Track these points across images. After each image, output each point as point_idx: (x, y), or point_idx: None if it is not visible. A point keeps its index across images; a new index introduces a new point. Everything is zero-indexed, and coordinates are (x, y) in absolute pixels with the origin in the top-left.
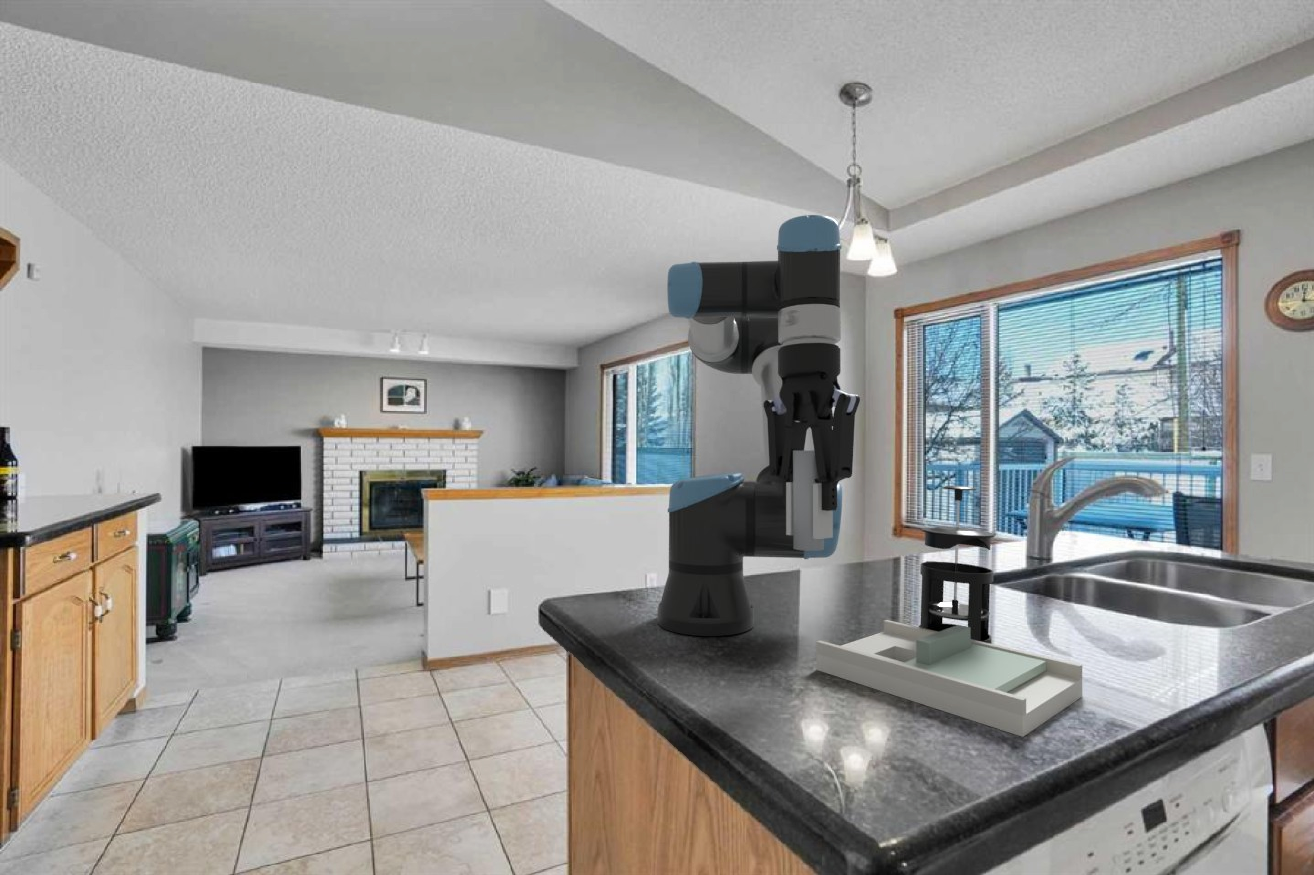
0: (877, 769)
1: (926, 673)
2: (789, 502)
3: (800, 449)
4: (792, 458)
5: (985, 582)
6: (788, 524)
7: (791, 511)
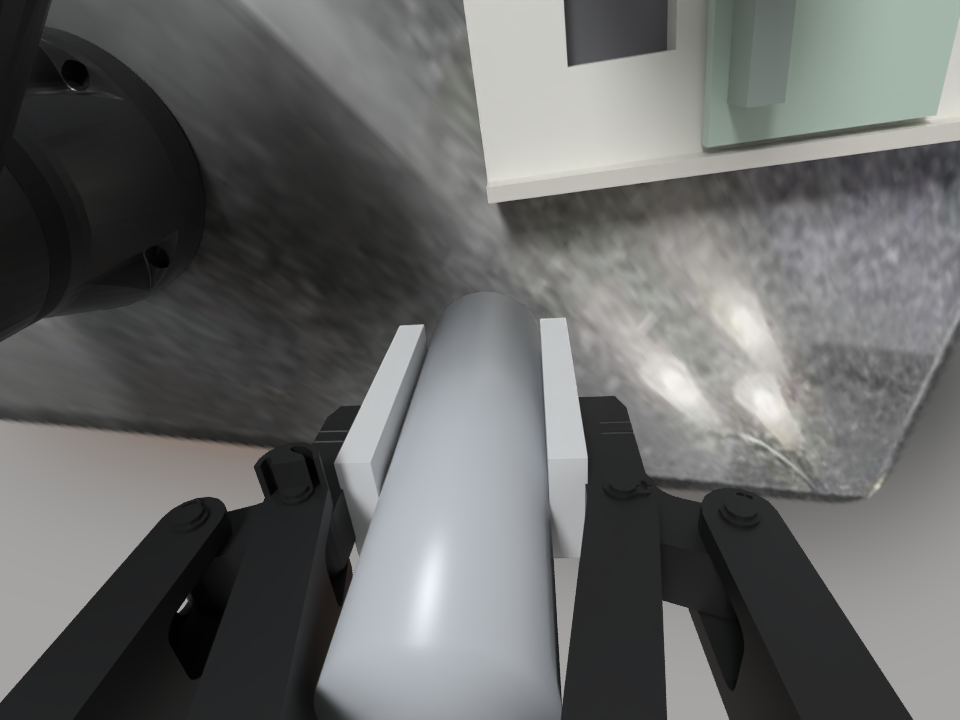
0: (800, 400)
1: (785, 163)
2: None
3: (302, 700)
4: None
5: None
6: None
7: None
